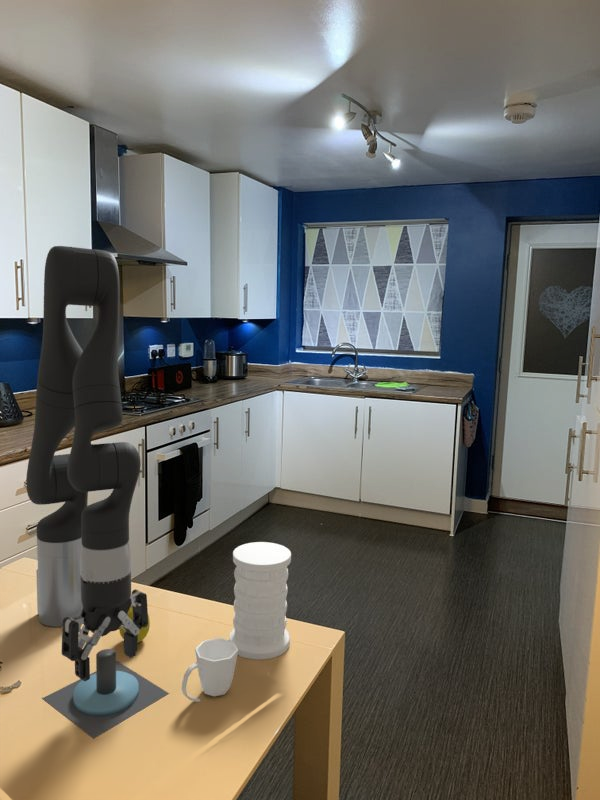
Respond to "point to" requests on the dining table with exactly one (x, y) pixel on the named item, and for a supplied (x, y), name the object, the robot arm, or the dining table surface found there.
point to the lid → (106, 688)
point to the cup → (213, 667)
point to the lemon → (142, 631)
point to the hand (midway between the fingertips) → (107, 666)
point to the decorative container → (260, 600)
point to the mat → (101, 724)
